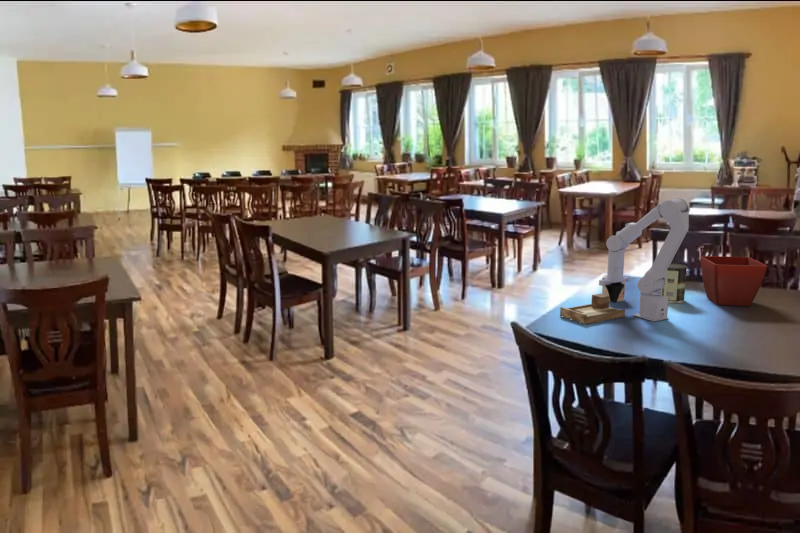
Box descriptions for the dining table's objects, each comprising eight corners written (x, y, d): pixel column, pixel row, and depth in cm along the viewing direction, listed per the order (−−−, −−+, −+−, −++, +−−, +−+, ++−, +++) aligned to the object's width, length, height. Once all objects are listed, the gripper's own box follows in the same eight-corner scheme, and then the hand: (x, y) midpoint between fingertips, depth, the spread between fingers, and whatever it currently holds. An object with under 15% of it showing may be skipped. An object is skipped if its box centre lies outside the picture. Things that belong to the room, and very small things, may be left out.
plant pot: (744, 296, 285) (748, 256, 282) (763, 308, 267) (768, 265, 263) (696, 295, 287) (699, 255, 284) (711, 307, 268) (715, 264, 265)
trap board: (624, 316, 256) (625, 307, 255) (584, 324, 246) (585, 315, 245) (599, 309, 266) (599, 300, 265) (560, 316, 256) (560, 307, 255)
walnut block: (609, 307, 261) (609, 295, 260) (600, 309, 258) (601, 297, 257) (599, 305, 264) (600, 293, 264) (591, 306, 262) (592, 294, 261)
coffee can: (678, 296, 285) (681, 263, 282) (688, 303, 275) (691, 268, 272) (653, 296, 285) (655, 263, 283) (662, 303, 275) (664, 268, 272)
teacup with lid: (620, 303, 275) (622, 274, 272) (598, 300, 280) (599, 271, 277) (629, 297, 285) (631, 269, 282) (607, 294, 290) (609, 266, 287)
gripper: (621, 263, 269) (618, 297, 272) (593, 267, 262) (591, 302, 264) (635, 266, 263) (633, 301, 266) (608, 270, 256) (605, 306, 259)
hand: (613, 302), depth 265 cm, fingers closed
